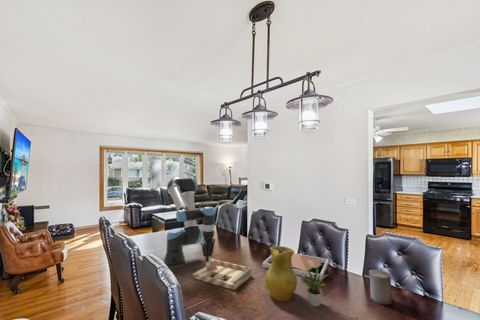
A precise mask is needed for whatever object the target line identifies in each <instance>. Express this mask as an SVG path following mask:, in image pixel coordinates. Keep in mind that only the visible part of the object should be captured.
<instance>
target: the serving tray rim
mask: <svg viewBox="0 0 480 320" xmlns="http://www.w3.org/2000/svg"><path fill="white" fill-rule="evenodd" d="M294 253H295V254H297V253H296V252H294ZM298 254H299V255H302V256H306V257H309V258H312V259H316V260H319V261H322V262H320V263H321V264H324V265H323V266H322V269H321V270H320V273H321V274H320V273H318V274H317V278H318V276H319V274H320V278H319V281H320V279H321V278H322V277H323V276H325V273H326V270H327V268H328V266H329V258H323V257H318V256H312V255H306V254H300V253H298ZM271 261H272V254H270V255H269V257H267V258H266V259H265V260H263V262H262V268H264V269H269V268H270V266H271ZM293 271H294V272H295V274H296V276H301V275H302V276H304V277H305V278H307V277H308V278H310V275H309V273H308V272H307V271H304V270H301V269H298V268H296V269H294V268H293ZM309 272H310V273H311V275H312V277H313V279H314V274H315V273H316V272H314V273H313V272H311V271H309ZM302 273H303V274H302ZM304 274H305V275H306V276H307V277H306V276H305V275H304ZM302 276H301V277H302ZM317 278H316V279H317ZM310 279H311V278H310Z"/></svg>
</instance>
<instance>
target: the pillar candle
mask: <svg viewBox="0 0 480 320" xmlns="http://www.w3.org/2000/svg"><path fill="white" fill-rule="evenodd" d="M391 280H392V279H391V274H390V273H389V272H387V271H384V270H380V269H371V270H369V290H370V293H369V294H370V299H371V300H372V301H373V302H374V303H377V304H380V305H391V304H392V301H393V300H392V283H391V282H392V281H391Z"/></svg>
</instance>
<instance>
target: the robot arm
mask: <svg viewBox="0 0 480 320" xmlns="http://www.w3.org/2000/svg"><path fill="white" fill-rule="evenodd" d="M166 188H167V193H168V194H169V195H170V196H171V198H172V199H171V200H172V201H173V203H174V205H175V209H176V210H177V211H176V213H175V217H176V218H175V219H176V221H177V222H179V223H181V222H185V223H184V224H185V225H184V226H183V228H180V227H179V228H173V229H171V230H169V231H168V232H167V233H166V252H165V255H164V258H163V263H165V264H164V265H167V266H178V265H182V264H183V263H184V262H185V261H186V257H185V253H184V251H183V247H186V246H192V245H196V244H199V243H200V244H201V249H202V254H203V257H205V267H206V266H207V267H210V262H211V258H212V257H213V253H214V248H215V242H216V239H215V238H214V236H215V208H214V207H213V206H205V207H198V208H196V203H195V194H196V191H197V190H198V183H197V179H195V177H190V176H188V177H187V176H186V177H179V176H178V177H174V178H172V179H170V180H169V182H168V184H167V186H166ZM199 220H202V228H201V227H200V226H199V224H198V223H197V221H199ZM202 239H203V241H202ZM201 241H202V242H201Z"/></svg>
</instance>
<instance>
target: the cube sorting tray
mask: <svg viewBox="0 0 480 320" xmlns="http://www.w3.org/2000/svg"><path fill="white" fill-rule="evenodd" d="M213 276H214V277H213ZM251 277H252V267H251V266H250V267H249V266H244V265H241V264H237V263H236V264H235V263H231V262H228V261H222V260H218V259H216V268H214V269H212V270H211V269H208V268H206V266H204V267H203V268H201V269H199V270H197V271H195V272H194V273H192V278H193V279H196V280H199V281H202V282H205V283H208V284H213V285H216V286H220V287H223V288H227V289H229V290H232V291H236V290H237V289H238V288H239V287H240V286H241V285H243V284H244V283H245V282H246V281H247V280H249V278H251Z"/></svg>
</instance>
